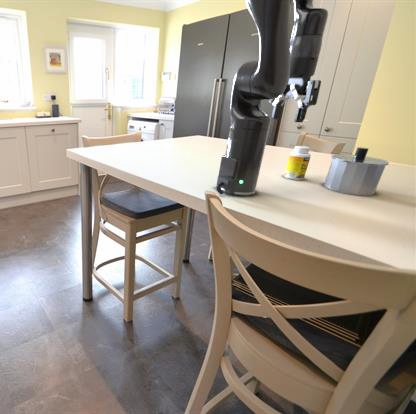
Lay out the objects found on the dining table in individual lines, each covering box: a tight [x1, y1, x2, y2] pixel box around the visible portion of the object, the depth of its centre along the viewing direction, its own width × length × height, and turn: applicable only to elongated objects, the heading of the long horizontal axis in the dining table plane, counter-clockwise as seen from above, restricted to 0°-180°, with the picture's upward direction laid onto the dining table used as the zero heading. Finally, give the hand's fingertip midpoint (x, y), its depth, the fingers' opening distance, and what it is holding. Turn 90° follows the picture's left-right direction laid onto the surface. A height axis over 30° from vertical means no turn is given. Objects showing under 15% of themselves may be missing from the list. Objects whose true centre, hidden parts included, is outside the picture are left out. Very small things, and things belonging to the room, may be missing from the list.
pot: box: [324, 158, 386, 197], centre depth 82 cm, size 11×11×8 cm
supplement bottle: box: [284, 145, 312, 181], centre depth 91 cm, size 6×6×10 cm
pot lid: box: [331, 146, 390, 167], centre depth 79 cm, size 12×12×4 cm
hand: (286, 120), depth 81 cm, fingers open, 8 cm apart
